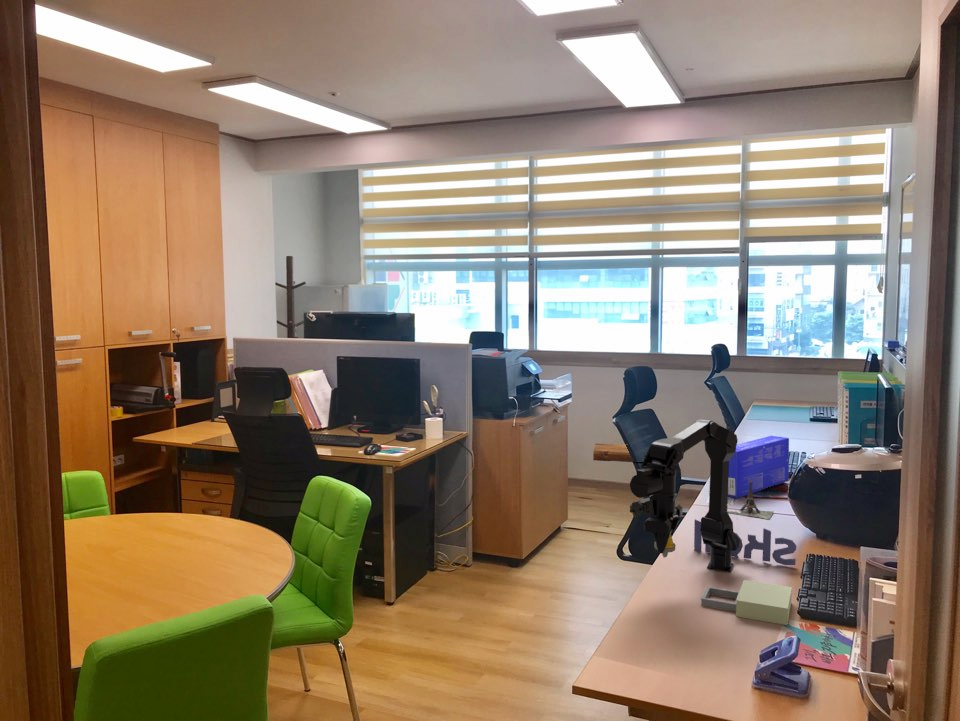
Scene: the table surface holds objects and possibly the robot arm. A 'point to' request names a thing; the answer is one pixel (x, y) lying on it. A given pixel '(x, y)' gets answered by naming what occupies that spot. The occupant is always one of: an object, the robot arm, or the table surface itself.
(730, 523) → the robot arm
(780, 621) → the green box with handle
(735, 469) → the toner cartridge box
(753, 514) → the eiffel tower figurine
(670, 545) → the yellow cone shape
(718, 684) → the table surface
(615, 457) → the brown wooden slab
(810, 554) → the table surface
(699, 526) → the signage
